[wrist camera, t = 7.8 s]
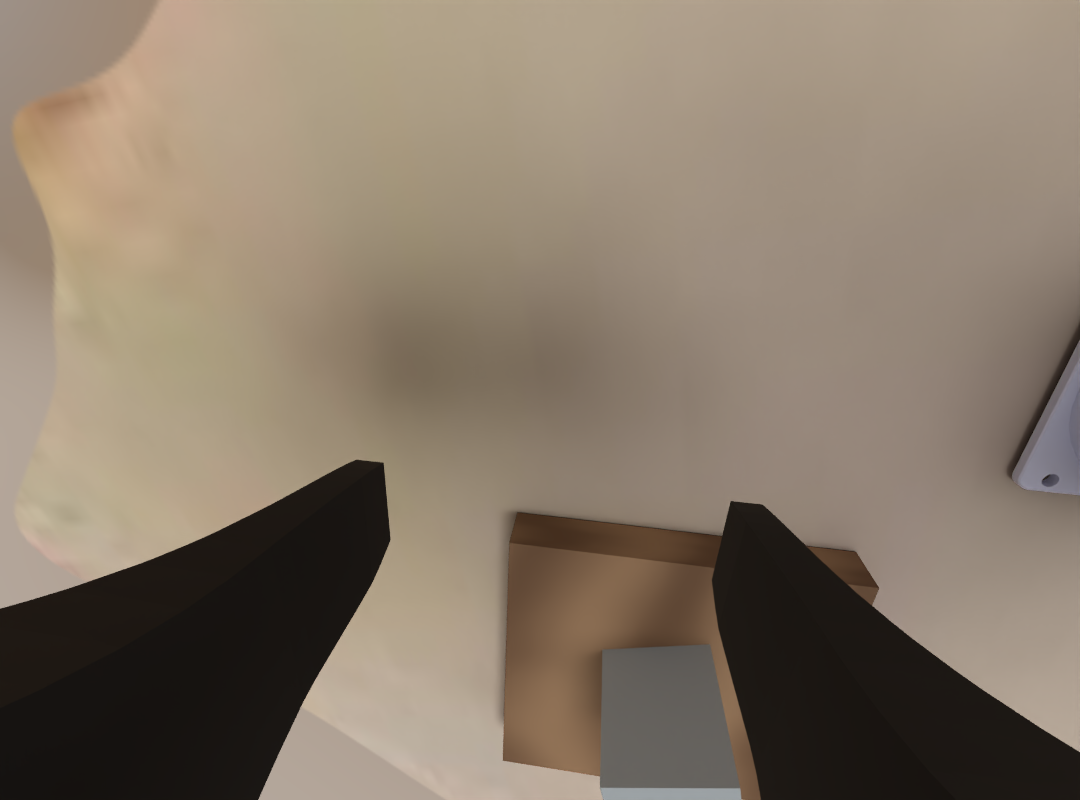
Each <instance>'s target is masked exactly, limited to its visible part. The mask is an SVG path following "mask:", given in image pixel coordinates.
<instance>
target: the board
mask: <svg viewBox="0 0 1080 800" xmlns="http://www.w3.org/2000/svg"><path fill="white" fill-rule="evenodd" d="M721 539H722V536H714V535H705V534H697V533H688V532H680V531H671V530H662V529H654V528H645V527H637V526H628V525H620V524H611V523H602V522H594V521H585V520H577V519H568V518H560V517H551V516H543V515H534V514H525V513H517V517H516V520H515V524H514V528H513V531H512V535H511V539H510V543H509V573H508V607H507V640H506V673H505V707H504V740H503V761H509V762H515V763H521V764H527V765H534V766H540V767H546V768H552V769H558V770H564V771H570V772H577V773H583V774H589V775H595V776H600V762H601V702H602V650H604V649H625V648H646V647H666V646H687V645H708V644H710V646H711V651H712V656H713V661H714V665H715V670H716V675H717V680H718V685H719V689H720V694H721V699H722V704H723V708H724V713H725V718H726V723H727V728H728V732H729V737H730V742H731V747H732V751H733V756H734V761H735V766H736V771H737V775H738V780H739V785H740V791H741V799H743V800H761V797H760V791H759V786H758V780H757V774H756V770H755V766H754V761H753V757H752V753H751V748H750V744H749V740H748V737H747V733H746V729H745V726H744V722H743V718H742V715H741V711H740V707H739V704H738V700H737V696H736V693H735V689H734V685H733V682H732V678H731V674H730V671H729V667H728V663H727V660H726V656H725V652H724V648H723V645H722V641H721V637H720V633H719V629H718V623H717V617H716V610H715V603H714V595H713V587H712V576H713V572H714V568H715V564H716V560H717V556H718V552H719V548H720V544H721ZM807 547H808V546H807ZM808 548H809V549H810V550H811V551H812V552H813V553H814V554H815V555H816V556H817V557H818V558H819V559H820V560H821V561H822V562H823V563H825V564H826V565H827V566H828V567H829V568H830V569H831V570H832V571H833V572H834V573H835V574H836V575H837V576H839V577H840V578H841V579H842V580H843V581H844V582H845V583H846V584H847V585H849V586H850V587H851V588H852V589H853V590H854V591H855V592H856V593H858V594H859V595H860V596H861V597H862V598H863V599H865V600H866V601H867V602H868V603H869V604H870V605H872V604H873V602H874V599H875V597H876V595H877V592H878V590H879V587H878V586H877V584H876V582H875V581H874V579H873V578H872V576H871V575H870V573H869V572H868V570H867V568H866V567H865V565H864V564H863V562H862V561H861V559H860V557H859V556H858V554H857V553H856V552H851V551H842V550H834V549H825V548H817V547H808Z"/></svg>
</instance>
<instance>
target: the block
mask: <svg viewBox="0 0 1080 800" xmlns="http://www.w3.org/2000/svg"><path fill="white" fill-rule="evenodd" d="M600 789H601V793H602V797H603V800H741V791H740V785H739V780H738V775H737V771H736V766H735V761H734V756H733V751H732V747H731V742H730V737H729V732H728V728H727V723H726V718H725V713H724V708H723V704H722V699H721V694H720V689H719V685H718V680H717V675H716V670H715V665H714V661H713V656H712V651H711V646H710V644H708V645H687V646H666V647H646V648H625V649H604V650H602V702H601V762H600Z"/></svg>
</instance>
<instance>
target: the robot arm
mask: <svg viewBox="0 0 1080 800" xmlns="http://www.w3.org/2000/svg"><path fill="white" fill-rule="evenodd" d="M1049 474H1050V476H1049V477H1048V478H1047V479H1045V480H1042V479H1043V478H1044V477H1045V476H1047V475H1049ZM1012 479H1013V481H1014V482H1015V483H1016V484H1018V485H1019V486H1020V487H1021V488H1023V489H1026V490H1033V491H1042V492H1052V493H1062V494H1071V495H1080V340H1079V342H1078V344H1077V346H1076V348H1075V350H1074V352H1073V354H1072V356H1071V358H1070V360H1069V362H1068V364H1067V366H1066V368H1065V370H1064V372H1063V374H1062V376H1061V378H1060V380H1059V382H1058V384H1057V386H1056V388H1055V390H1054V392H1053V394H1052V396H1051V398H1050V400H1049V402H1048V404H1047V406H1046V408H1045V410H1044V412H1043V414H1042V416H1041V418H1040V420H1039V422H1038V424H1037V426H1036V428H1035V430H1034V432H1033V434H1032V436H1031V438H1030V440H1029V441H1028V443H1027V445H1026V447H1025V449H1024V451H1023V453H1022V455H1021V457H1020V459H1019V461H1018V463H1017V465H1016V467H1015V469H1014V471H1013V474H1012ZM389 542H390V529H389V518H388V507H387V496H386V485H385V474H384V463H380V462H371V461H362V460H355V461H353V462H350V463H348V464H346V465H344V466H342V467H340V468H338V469H336V470H334V471H332V472H330V473H329V474H327V475H325V476H323V477H321V478H319V479H318V480H316V481H314V482H312V483H310V484H308V485H307V486H305V487H303V488H301V489H299V490H297V491H296V492H294V493H292V494H290V495H288V496H286V497H284V498H283V499H281V500H279V501H277V502H275V503H273V504H271V505H270V506H268V507H266V508H264V509H262V510H260V511H258V512H256V513H254V514H252V515H250V516H247V517H245V518H243V519H241V520H239V521H237V522H235V523H233V524H231V525H229V526H227V527H225V528H223V529H221V530H219V531H217V532H215V533H213V534H211V535H208V536H206V537H204V538H202V539H200V540H197V541H195V542H193V543H190V544H188V545H186V546H183V547H181V548H178V549H176V550H174V551H171V552H169V553H166V554H164V555H161V556H159V557H156V558H154V559H151V560H149V561H146V562H144V563H141V564H138V565H135V566H132V567H130V568H127V569H124V570H121V571H118V572H115V573H112V574H110V575H107V576H104V577H101V578H98V579H95V580H92V581H89V582H87V583H84V584H81V585H78V586H75V587H72V588H69V589H66V590H63V591H59V592H57V593H53V594H49V595H46V596H43V597H40V598H36V599H33V600H30V601H27V602H23V603H19V604H16V605H12V606H9V607H5V608H1V609H0V800H258V799H259V797H260V794H261V792H262V790H263V787H264V785H265V783H266V781H267V779H268V776H269V774H270V772H271V770H272V767H273V765H274V763H275V761H276V758H277V756H278V754H279V752H280V750H281V748H282V745H283V743H284V741H285V739H286V737H287V735H288V733H289V731H290V729H291V726H292V724H293V722H294V720H295V718H296V716H297V714H298V712H299V710H300V707H301V705H302V703H303V701H304V699H305V698H306V696H307V694H308V692H309V690H310V688H311V686H312V685H313V683H314V681H315V679H316V677H317V676H318V674H319V672H320V671H321V669H322V667H323V666H324V664H325V662H326V661H327V659H328V657H329V656H330V654H331V652H332V650H333V649H334V647H335V645H336V644H337V642H338V640H339V639H340V637H341V635H342V634H343V632H344V630H345V629H346V627H347V625H348V624H349V622H350V620H351V619H352V617H353V615H354V613H355V612H356V610H357V608H358V607H359V605H360V603H361V601H362V600H363V598H364V596H365V595H366V593H367V591H368V589H369V588H370V586H371V584H372V582H373V580H374V578H375V576H376V573H377V571H378V569H379V567H380V564H381V562H382V559H383V557H384V555H385V552H386V550H387V547H388V545H389ZM712 587H713V595H714V603H715V610H716V617H717V623H718V629H719V633H720V637H721V641H722V645H723V648H724V652H725V656H726V660H727V663H728V667H729V671H730V674H731V678H732V682H733V685H734V689H735V693H736V696H737V700H738V704H739V707H740V711H741V715H742V718H743V722H744V726H745V729H746V733H747V737H748V740H749V744H750V748H751V753H752V757H753V761H754V766H755V770H756V774H757V780H758V786H759V791H760V797H761V800H1080V752H1078V751H1077V750H1075V749H1074V748H1072V747H1070V746H1069V745H1067V744H1065V743H1064V742H1062V741H1061V740H1059V739H1057V738H1056V737H1054V736H1053V735H1051V734H1049V733H1048V732H1046V731H1044V730H1043V729H1041V728H1040V727H1038V726H1037V725H1035V724H1034V723H1032V722H1030V721H1029V720H1027V719H1026V718H1024V717H1023V716H1021V715H1020V714H1018V713H1017V712H1015V711H1014V710H1012V709H1011V708H1009V707H1008V706H1006V705H1005V704H1003V703H1002V702H1000V701H999V700H997V699H996V698H994V697H993V696H991V695H990V694H988V693H987V692H985V691H984V690H982V689H981V688H979V687H978V686H976V685H975V684H973V683H972V682H971V681H969V680H968V679H966V678H965V677H963V676H962V675H961V674H959V673H958V672H956V671H955V670H954V669H952V668H951V667H950V666H948V665H947V664H946V663H944V662H943V661H941V660H940V659H939V658H937V657H936V656H935V655H933V654H932V653H931V652H929V651H928V650H927V649H925V648H924V647H923V646H921V645H920V644H919V643H917V642H916V641H915V640H913V639H912V638H911V637H909V636H908V635H907V634H906V633H904V632H903V631H902V630H901V629H899V628H898V627H897V626H896V625H894V624H893V623H892V622H891V621H889V620H888V619H887V618H886V617H885V616H884V615H882V614H881V613H880V612H879V611H878V610H876V609H875V608H874V607H873V606H872V605H870V604H869V603H868V602H867V601H866V600H865V599H863V598H862V597H861V596H860V595H859V594H858V593H856V592H855V591H854V590H853V589H852V588H851V587H850V586H849V585H847V584H846V583H845V582H844V581H843V580H842V579H841V578H840V577H839V576H837V575H836V574H835V573H834V572H833V571H832V570H831V569H830V568H829V567H828V566H827V565H826V564H825V563H823V562H822V561H821V560H820V559H819V558H818V557H817V556H816V555H815V554H814V553H813V552H812V551H811V550H810V549H809V548H808V547H807V546H806V545H805V544H804V543H802V542H801V541H800V540H799V539H798V538H797V537H796V536H795V535H794V534H793V533H792V532H791V531H790V530H789V529H788V528H787V527H786V526H785V525H784V524H783V523H782V522H781V521H780V520H779V519H778V518H777V517H776V516H774V515H773V514H772V513H771V512H770V511H769V510H768V509H767V508H766V507H765V506H763V505H761V504H752V503H743V502H734V501H731V503H730V507H729V511H728V515H727V519H726V523H725V527H724V531H723V535H722V539H721V544H720V548H719V552H718V556H717V560H716V564H715V568H714V572H713V576H712Z"/></svg>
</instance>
